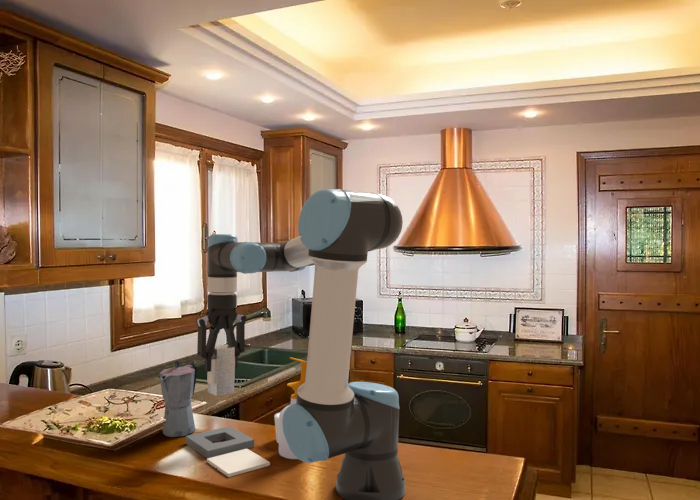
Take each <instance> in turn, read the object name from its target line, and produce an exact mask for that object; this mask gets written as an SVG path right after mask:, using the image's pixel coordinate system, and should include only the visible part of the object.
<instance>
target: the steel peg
mask: <svg viewBox="0 0 700 500" xmlns="http://www.w3.org/2000/svg"><path fill="white" fill-rule="evenodd" d="M212 358H213V359H215V384H214V385H211V384H209V383H207V393H209V394H211V395H214V396H215V397H220V396H225V395H230V394H235V381H234V362H235V347H233V346H229V345H228V344H227V343H226V344H215V348H214V352H213V356H212Z"/></svg>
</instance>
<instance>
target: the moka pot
mask: <svg viewBox="0 0 700 500" xmlns="http://www.w3.org/2000/svg"><path fill="white" fill-rule="evenodd" d="M173 364H174V366H173V367H169V368H165V369H163V370H162V371H160V372H159V374H158V376H159V382H160V388H161V394H162V395H161V396H162V399H163V400H164V406H165V407H164V417H163V420H164V419H166V423H165V424H164V423H163V425H164V427H163V428H162V434H163V436H166V437H171V438H176V437H177V438H178V437H180V438H181V437H184V436H185V437H186V436H188V435H192V433H194V432H195V431H196V424H195V419H194V413H193V407H192V397H193V396H194V394H195V391H196V390H195V388H196V382H197V376H198V370H199V368H198V367H197V366H196V364H195V363H194V362H191V363H190V364H186V365H184V366H180V361H178V360H176V361H174V362H173Z"/></svg>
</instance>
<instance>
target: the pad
mask: <svg viewBox="0 0 700 500" xmlns="http://www.w3.org/2000/svg"><path fill="white" fill-rule="evenodd" d="M206 462H207V463H208V464H209V465H211V467H214V468H215V469H216V468H217V469H216V470H218V471H219V472H221V473H222V474H223V475H225V476H226V477H228V478H232V477H234V476H237V475H238V476H239V475H241V474H244V473H248V472H251V471H252V472H253V471H256V470H259V469H263V468H267V467H269V466H270V465H271V462H270V461H268V460H267V459H265V458H264V457H263V456H260V455H259V454H257V453H255V452H253V451H252V450H251V449H250V448H249V449H243V450H239V451H235V452H231V453H227V454H223V455H219V456H215V457H212V458H208V459H207V458H206Z"/></svg>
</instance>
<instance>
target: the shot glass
mask: <svg viewBox="0 0 700 500" xmlns="http://www.w3.org/2000/svg"><path fill="white" fill-rule="evenodd" d="M280 412H281V411H280ZM280 412H276V413H275V414H274V416H273V417H274V428H275V442H276V443H277V444H279V415H280Z"/></svg>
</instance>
